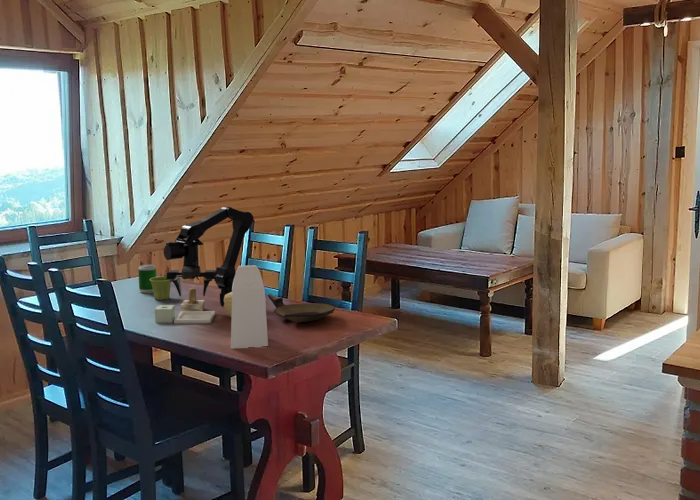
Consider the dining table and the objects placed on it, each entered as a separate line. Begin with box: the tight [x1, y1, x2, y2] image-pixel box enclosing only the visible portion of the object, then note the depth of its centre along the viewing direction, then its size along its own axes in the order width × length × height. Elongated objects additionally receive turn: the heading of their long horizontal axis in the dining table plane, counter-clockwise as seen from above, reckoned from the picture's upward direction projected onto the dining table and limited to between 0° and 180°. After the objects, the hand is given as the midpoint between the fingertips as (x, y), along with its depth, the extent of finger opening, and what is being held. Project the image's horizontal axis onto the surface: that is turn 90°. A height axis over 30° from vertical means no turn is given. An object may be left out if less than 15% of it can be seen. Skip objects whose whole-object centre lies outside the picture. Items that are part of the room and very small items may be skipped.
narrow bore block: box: [154, 304, 176, 323], centre depth 258 cm, size 6×6×5 cm
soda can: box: [138, 263, 157, 294], centre depth 307 cm, size 8×8×12 cm
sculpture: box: [223, 292, 232, 319], centre depth 263 cm, size 12×12×11 cm
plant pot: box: [150, 276, 172, 301], centre depth 294 cm, size 9×9×9 cm
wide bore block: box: [180, 299, 206, 312], centre depth 273 cm, size 8×8×4 cm
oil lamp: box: [267, 293, 336, 323], centre depth 261 cm, size 22×30×8 cm
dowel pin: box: [188, 287, 197, 304], centre depth 272 cm, size 3×3×9 cm
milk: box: [230, 264, 269, 350], centre depth 228 cm, size 12×12×26 cm
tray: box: [173, 310, 216, 325], centre depth 260 cm, size 13×13×2 cm
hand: (192, 296), depth 272 cm, fingers open, 9 cm apart
